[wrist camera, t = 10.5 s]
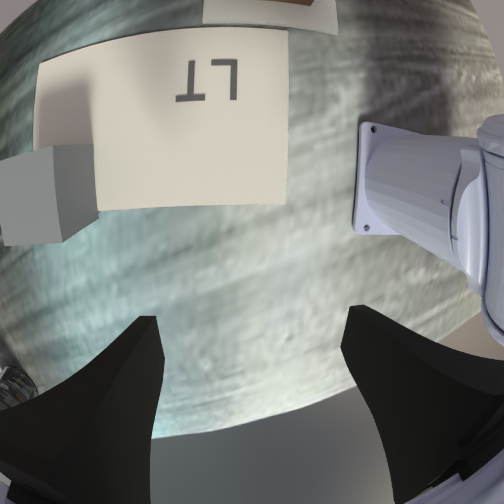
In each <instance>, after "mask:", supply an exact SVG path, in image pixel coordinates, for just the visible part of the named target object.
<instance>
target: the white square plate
mask: <svg viewBox="0 0 504 504" xmlns="http://www.w3.org/2000/svg"><path fill="white" fill-rule="evenodd" d="M202 22H203V24H208V23H243V24H262V25H274V26H283V27H291V28H299V29H305V30H311V31H317V32H322V33H327V34H332V35H337V34H338V22H337V12H336V3H335V0H314V2H313V3H312V4H311V6H306V5H300V4H293V3H285V2H276V1H265V0H204V7H203V19H202Z"/></svg>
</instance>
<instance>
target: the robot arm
mask: <svg viewBox="0 0 504 504" xmlns="http://www.w3.org/2000/svg"><path fill="white" fill-rule="evenodd" d="M371 127H373V128H374V133H372V131H371ZM477 137H478V138H469V137H456V136H439V135H423V134H419V133H416V132H412V131H408V130H404V129H400V128H396V127H392V126H387V125H382V124H378V123H373V122H362V123H361V124H360V127H359V154H358V173H357V187H356V199H355V210H354V219H353V230H354V232H355V233H357V234H360V235H361V234H391V235H403V236H405V237H406V238H408V239H410V240H412V241H413V242H415V243H417V244H419V245H420V246H422V247H424V248H425V249H427V250H429V251H430V252H432V253H434V254H435V255H437V256H439V257H440V258H442V259H444V260H445V261H447V262H448V263H450V264H452V265H453V266H455V267H456V268H458V269H459V270H461V271H463V272H464V273H465V274H466V276H467V279H468V287H469V288H470V289H472V290H473V291H474V292H476V293H477V294H478V295H480V296H481V297H482V300H481V314H482V318H483V321H484V324H485V326H486V328H487V329H488V331H489V332H490V334H491V335H492V336H493V337H494V338H495V339H496V340H497V341H498V342H499V343H500V344H501V345H503V346H504V114H499V115H494V116H490V117H487V118H486V119H485V121H484V122H483V124H482V126H481V127H479V128H478V130H477ZM365 225H367V228H366V229H365V230H364V226H365ZM340 347H341V350H342V353H343V356H344V359H345V362H346V364H347V367H348V369H349V371H350V373H351V375H352V377H353V379H354V381H355V383H356V384H357V386H358V388H359V390H360V392H361V394H362V396H363V397H364V399H365V401H366V403H367V405H368V407H369V409H370V411H371V413H372V415H373V418H374V420H375V423H376V426H377V429H378V431H379V434H380V437H381V440H382V444H383V447H384V450H385V454H386V458H387V462H388V466H389V470H390V476H391V482H392V488H393V497H394V502H395V504H504V361H502V360H495V359H489V358H483V357H479V356H474V355H471V354H467V353H464V352H460V351H457V350H454V349H451V348H449V347H446V346H444V345H441V344H439V343H436V342H434V341H432V340H430V339H428V338H426V337H423V336H421V335H419V334H417V333H415V332H414V331H412V330H410V329H408V328H406V327H404V326H402V325H401V324H399V323H397V322H395V321H393V320H392V319H390V318H388V317H386V316H385V315H383V314H381V313H379V312H377V311H376V310H374V309H372V308H370V307H368V306H365V305H356V306H350V308H349V312H348V317H347V321H346V326H345V330H344V334H343V338H342V343H341V346H340ZM164 363H165V357H164V352H163V348H162V344H161V339H160V334H159V330H158V325H157V320H156V316H139V317H138V318H137V319H136V320H135V321H134V322H133V323H132V324H131V325H130V326H129V327H128V328H127V329H126V330H124V331H123V332H122V333H121V334H120V335H119V336H118V337H117V338H116V339H115V340H114V341H113V342H112V343H111V344H110V345H109V346H108V347H107V348H106V349H104V350H103V351H102V352H101V353H100V354H99V355H97V356H96V357H95V358H94V359H93V360H92V361H91V362H89V363H88V364H87V365H86V366H84V367H83V368H82V369H80V370H79V371H78V372H76V373H75V374H74V375H72V376H71V377H69V378H68V379H66V380H65V381H63V382H62V383H60V384H58V385H56V386H55V387H53V388H51V389H50V390H48V391H46V392H44V393H43V394H41V395H39V396H37V397H34V398H32V399H30V400H28V401H26V402H23V403H21V404H18V405H16V406H13V407H10V408H7V409H4V410H1V411H0V472H1V473H2V474H3V475H5V476H6V477H7V478H8V479H10V480H11V484H10V487H9V486H8V485H6V484H5V483H3V482H2V481H0V504H151V501H150V448H151V437H152V430H153V425H154V420H155V415H156V410H157V405H158V401H159V396H160V392H161V387H162V382H163V374H164Z"/></svg>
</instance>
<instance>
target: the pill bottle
mask: <svg viewBox="0 0 504 504" xmlns="http://www.w3.org/2000/svg"><path fill="white" fill-rule="evenodd" d="M37 396H38V392H37V389H36V388H35V386H34V385H33V383H32V382H31V381H30V380H29V379H28V378H27V377H26V376H25V375H24V374H23V373H21V372H20V371H19V370H17V369H15V368H13V367H9V366H7V367H5V368H4V369H3V370H2V372H1V373H0V411H1V410H4V409H7V408H10V407H13V406H16V405H18V404H21V403H23V402H26V401H28V400H30V399H32V398H34V397H37Z"/></svg>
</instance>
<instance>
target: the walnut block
mask: <svg viewBox="0 0 504 504" xmlns="http://www.w3.org/2000/svg"><path fill="white" fill-rule="evenodd" d="M265 1H276V2H285V3H293V4H300V5H306V6H311V4H312V3H313V2H314V0H265Z"/></svg>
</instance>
